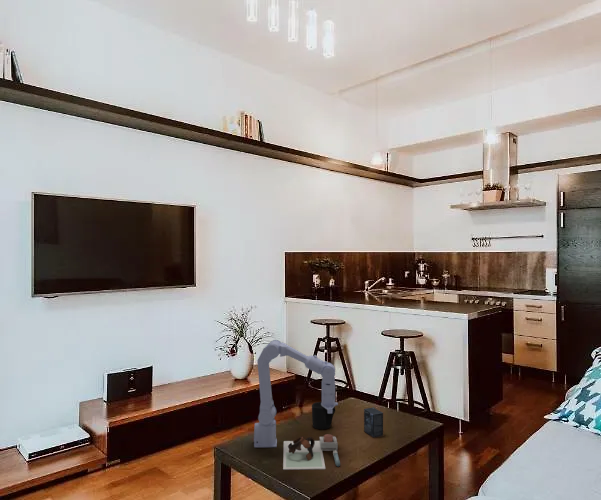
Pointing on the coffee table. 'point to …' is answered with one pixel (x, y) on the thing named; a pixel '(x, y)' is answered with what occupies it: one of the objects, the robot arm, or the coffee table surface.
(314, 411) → the pen holder
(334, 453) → the marker
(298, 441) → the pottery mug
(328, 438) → the button
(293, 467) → the paper
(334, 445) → the white square holder
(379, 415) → the box
